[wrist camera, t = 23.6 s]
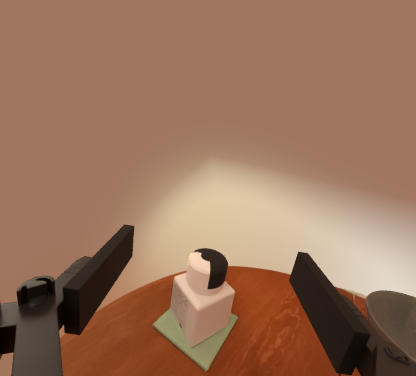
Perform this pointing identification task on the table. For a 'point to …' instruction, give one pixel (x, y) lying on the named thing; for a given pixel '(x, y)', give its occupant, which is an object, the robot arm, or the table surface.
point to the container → (202, 296)
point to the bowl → (394, 319)
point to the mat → (202, 351)
